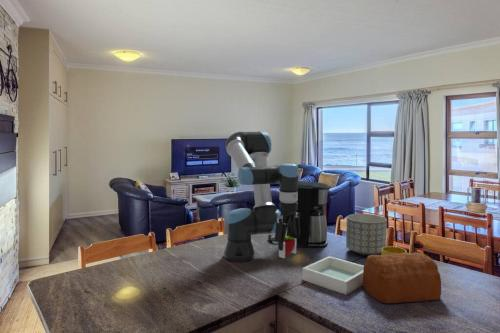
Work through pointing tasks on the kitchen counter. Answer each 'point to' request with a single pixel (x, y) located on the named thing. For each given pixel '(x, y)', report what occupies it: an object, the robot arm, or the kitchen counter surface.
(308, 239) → the coffee maker
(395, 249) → the plant pot
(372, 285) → the bread
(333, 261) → the serving bin
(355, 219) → the planter
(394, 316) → the kitchen counter surface
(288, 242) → the strawberry
